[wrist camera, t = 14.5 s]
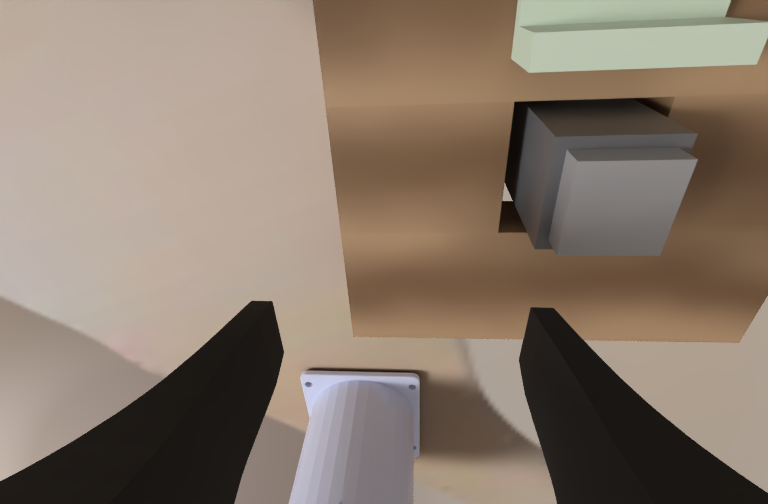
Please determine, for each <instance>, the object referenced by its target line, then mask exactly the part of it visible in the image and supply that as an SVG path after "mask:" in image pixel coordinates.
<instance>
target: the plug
mask: <svg viewBox="0 0 768 504" xmlns="http://www.w3.org/2000/svg"><path fill="white" fill-rule="evenodd" d="M697 135H698V133H696V132H694V131H692V130H690V129H689V128H687V127H685V126H683V125H681V124H679V123H677V122H675V121H673V120H672V119H670V118H668V117H666V116H664V115H662V114H660V113H658V112H656V111H655V110H653V109H651V108H649V107H647V106H645V105H643V104H641V103H639V102H638V101H636V100H634V99H632V98H615V99H583V100H550V101H518V102H514V109H513V117H512V125H511V133H510V141H509V149H508V157H507V165H506V173H505V181H504V182H505V184H506V186H507V188H508V191H509V193H510V195H511V198H512V200H513V202H514V204H515V207H516V209H517V211H518V213H519V216H520V218H521V220H522V222H523V225H524V227H525V229H526V231H527V234H528V236H529V238H530V240H531V243H532V245H533V247H534V249H553V250H554V252H555V254H556V256H660V255H661V252H662V250H663V247H664V245H665V242H666V239H667V237H668V234H669V232H670V229H671V227H672V224H673V222H674V219H675V217H676V214H677V212H678V209H679V206H680V204H681V201H682V199H683V196H684V194H685V191H686V189H687V186H688V184H689V181H690V179H691V176H692V173H693V171H694V168H695V166H696V163H697V161H698V159H697V158H695V157H693V156H692V155H690V153H691V151H692V148H693V145H694V143H695V140H696V137H697Z"/></svg>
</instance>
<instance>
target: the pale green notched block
mask: <svg viewBox="0 0 768 504" xmlns="http://www.w3.org/2000/svg"><path fill="white" fill-rule="evenodd" d="M730 2H731V0H518V2H517V11H516V20H515V29H514V37H513V46H512V55H511V59H512V60H513V61H514V62H516V63H517V64H518V65H520V66H521V67H522V68H523V69H525V70H526V71H527V72H528V73H538V72H565V71H592V70H620V69H647V68H674V67H702V66H729V65H756V64H757V62H758V60H759V58H760V55H761V53H762V50H763V48H764V46H765V43H766V41H767V39H768V21H759V20H750V19H740V18H730V17H725V16H726V13H727V10H728V7H729V5H730Z"/></svg>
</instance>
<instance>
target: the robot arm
mask: <svg viewBox="0 0 768 504" xmlns="http://www.w3.org/2000/svg"><path fill="white" fill-rule="evenodd" d="M283 354H284V350H283V346H282V341H281V337H280V333H279V328H278V324H277V320H276V315H275V311H274V306H273V302H272V301H251V302H250V303H249V304H248V305H247V306H245V307H244V308H243V309H242V310H241V311H240V312H239V313H238V314H237V315H236V316H235V317H234V318H233V319H232V320H230V321H229V322H228V323H227V324H226V325H225V326H224V327H223V328H222V329H221V330H220V331H219V332H218V333H217V334H216V335H214V336H213V337H212V338H211V339H210V340H209V341H208V342H207V343H206V344H205V345H203V346H202V347H201V348H200V349H199V350H198V351H197V352H196V353H195V354H193V355H192V356H191V357H190V358H189V359H187V360H186V361H185V362H184V363H183V364H181V365H180V366H179V367H178V368H177V369H175V370H174V371H173V372H172V373H171V374H169V375H168V376H167V377H166V378H165V379H163V380H162V381H161V382H159V383H158V384H157V385H156V386H154V387H153V388H152V389H151V390H149V391H148V392H146V393H145V394H144V395H142V396H141V397H139V398H138V399H137V400H135V401H134V402H132V403H131V404H130V405H128V406H127V407H125V408H124V409H122V410H121V411H120V412H118V413H117V414H115V415H114V416H112V417H110V418H109V419H107V420H106V421H104V422H102V423H101V424H99V425H98V426H96V427H95V428H93V429H92V430H90V431H88V432H87V433H85V434H84V435H82V436H81V437H79V438H77V439H76V440H74V441H73V442H71V443H69V444H67V445H66V446H64V447H62V448H61V449H59V450H57V451H55V452H54V453H52V454H50V455H49V456H47V457H45V458H43V459H41V460H39V461H38V462H36V463H34V464H32V465H30V466H29V467H27V468H25V469H23V470H21V471H19V472H18V473H16V474H14V475H12V476H10V477H8V478H6V479H4V480H2V481H0V504H234V502H235V498H236V495H237V491H238V487H239V484H240V480H241V477H242V474H243V471H244V468H245V465H246V462H247V459H248V457H249V454H250V451H251V449H252V447H253V444H254V441H255V439H256V436H257V434H258V431H259V428H260V426H261V423H262V421H263V418H264V416H265V413H266V410H267V408H268V405H269V402H270V400H271V397H272V394H273V392H274V389H275V386H276V383H277V379H278V375H279V371H280V367H281V363H282V358H283ZM519 363H520V368H521V375H522V380H523V386H524V390H525V396H526V398H527V402H528V405H529V409H530V412H531V415H532V419H533V422H534V425H535V428H536V431H537V435H538V438H539V441H540V444H541V448H542V451H543V454H544V457H545V460H546V464H547V467H548V470H549V473H550V477H551V480H552V484H553V488H554V492H555V496H556V500H557V504H768V493H767V492H765V491H764V490H762V489H761V488H759V487H758V486H756V485H755V484H753V483H752V482H751V481H749V480H747V479H746V478H745V477H743V476H742V475H740V474H739V473H737V472H736V471H735V470H733V469H732V468H730V467H729V466H727V465H726V464H725V463H723V462H722V461H720V460H719V459H718V458H717V457H715V456H714V455H712V454H711V453H710V452H708V451H707V450H705V449H704V448H703V447H701V446H700V445H699V444H698V443H696V442H695V441H694V440H692V439H691V438H690V437H688V436H687V435H685V433H683V432H682V431H681V430H680V429H678V428H677V427H676V426H675V425H674V424H672V423H671V422H670V421H668V420H667V419H666V418H665V417H664V416H662V415H661V414H660V413H659V412H658V411H656V410H655V409H654V408H653V407H652V406H651V405H649V404H648V403H647V402H646V401H645V400H643V398H642V397H641V396H639V395H638V394H637V393H636V392H635V391H634V390H633V389H632V388H631V387H630V386H628V385H627V384H626V383H625V382H624V381H623V380H622V379H621V378H620V377H619V376H618V375H617V374H616V373H615V372H614V371H613V370H612V369H611V368H610V367H609V366H608V365H607V364H606V363H605V362H604V361H603V360H602V359H601V358H600V357H599V356H598V355H597V354H596V353H595V352H594V351H593V350H592V349H591V348H590V347H589V346H588V344H587V343H586V342H585V341H584V340H583V339H582V338H581V337H580V336H579V335H578V334H577V333H576V332H575V330H574V329H573V328H572V327H571V326H570V325H569V324H568V323H567V322H566V321H565V320H564V318H563V317H562V316H561V315H560V314H559V313H558V312H557V311H556V310H555V309H554V308H541V307H531V308H530V312H529V317H528V321H527V326H526V330H525V335H524V339H523V344H522V348H521V353H520V357H519ZM300 379H301V383H302V388H303V392H304V396H305V400H306V404H307V409H308V413H309V417H310V420H309V424H308V428H307V432H306V436H305V440H304V445H303V449H302V452H301V457H300V460H299V464H298V469H297V472H296V477H295V481H294V485H293V489H292V493H291V497H290V501H289V504H413V470H414V458H417V457H418V456H419V449H420V378H419V376H418V375H417V374H415V373H395V372H351V371H304V372H302V374H301V378H300Z"/></svg>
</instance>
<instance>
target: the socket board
mask: <svg viewBox="0 0 768 504" xmlns="http://www.w3.org/2000/svg"><path fill="white" fill-rule="evenodd" d="M517 2H518V0H313V5H314V14H315V22H316V30H317V38H318V47H319V55H320V63H321V72H322V80H323V88H324V96H325V105H326V113H327V121H328V130H329V138H330V146H331V154H332V163H333V171H334V179H335V188H336V196H337V204H338V212H339V221H340V229H341V237H342V246H343V254H344V262H345V270H346V279H347V287H348V295H349V304H350V312H351V320H352V328H353V337H411V338H475V339H478V338H479V339H524V335H525V330H526V326H527V321H528V317H529V312H530V308H531V307H541V308H554V309H555V310H556V311H557V312H558V313H559V314H560V315H561V316H562V317H563V318H564V320H565V321H566V322H567V323H568V324H569V325H570V326H571V327H572V328H573V329H574V330H575V332H576V333H577V334H578V335H579V336H580V337H581V338H582V339H583V340H603V341H606V340H607V341H669V342H731V343H737V342H738V343H739V342H740V340H741V338H742V337H743V335H744V334H745V332H746V330H747V329H748V327H749V325H750V323H751V322H752V320H753V319H754V317H755V315H756V314H757V312H758V310H759V309H760V307H761V306H762V304H763V302H764V301H765V299H766V297H767V296H768V39H767V41H766V43H765V46H764V48H763V50H762V53H761V55H760V58H759V60H758V62H757V64H756V65H729V66H702V67H674V68H647V69H620V70H592V71H565V72H538V73H528V72H527V71H526V70H525V69H523V68H522V67H521V66H520V65H518V64H517V63H516V62H514V61H513V60H512V59H511V55H512V46H513V37H514V29H515V20H516V11H517ZM725 17H730V18H740V19H750V20H759V21H768V0H731V2H730V5H729V7H728V10H727V13H726V16H725ZM615 98H632V99H634V100H636V101H638V102H639V103H641V104H643V105H645V106H647V107H649V108H651V109H653V110H655V111H656V112H658V113H660V114H662V115H664V116H666V117H668V118H670V119H672V120H673V121H675V122H677V123H679V124H681V125H683V126H685V127H687V128H689V129H690V130H692V131H694V132H696V133H698V135H697V137H696V140H695V143H694V145H693V148H692V151H691V153H690V155H692V156H693V157H695V158H697V159H698V161H697V163H696V166H695V168H694V171H693V173H692V176H691V179H690V181H689V184H688V186H687V189H686V191H685V194H684V196H683V199H682V201H681V204H680V206H679V209H678V212H677V214H676V217H675V219H674V222H673V224H672V227H671V229H670V232H669V234H668V237H667V239H666V242H665V245H664V247H663V250H662V252H661V255H660V256H556V254H555V252H554V250H553V249H534V247H533V245H532V243H531V240H530V238H529V236H528V234H527V231H526V229H525V227H524V225H523V222H522V220H521V218H520V216H519V213H518V211H517V209H516V207H515V204H514V202H513V201H502V197H503V189H504V181H505V173H506V165H507V157H508V149H509V141H510V133H511V125H512V117H513V109H514V102H518V101H550V100H583V99H615Z"/></svg>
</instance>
